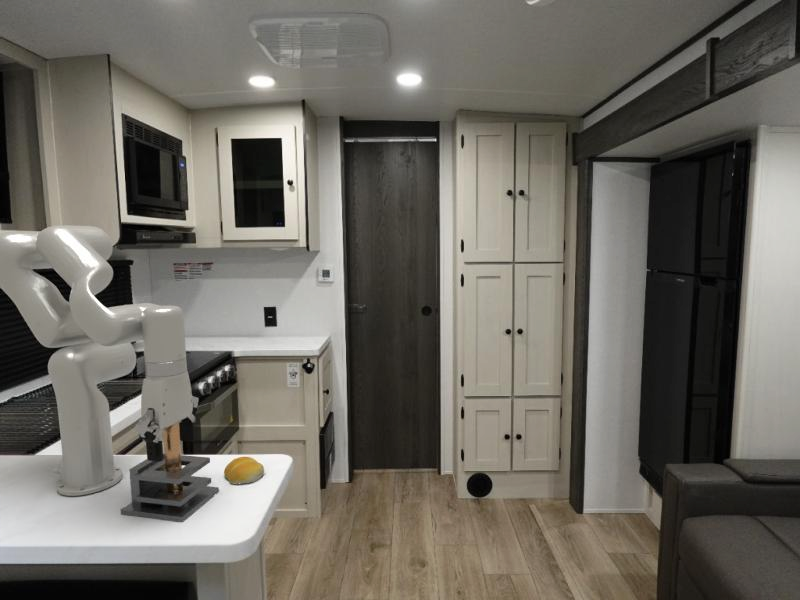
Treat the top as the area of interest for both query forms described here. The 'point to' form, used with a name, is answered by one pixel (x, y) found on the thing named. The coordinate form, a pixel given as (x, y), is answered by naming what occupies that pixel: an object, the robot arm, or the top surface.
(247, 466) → the bread roll
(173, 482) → the collar stand
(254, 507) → the top surface
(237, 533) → the top surface
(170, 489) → the brown rod
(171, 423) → the robot arm
